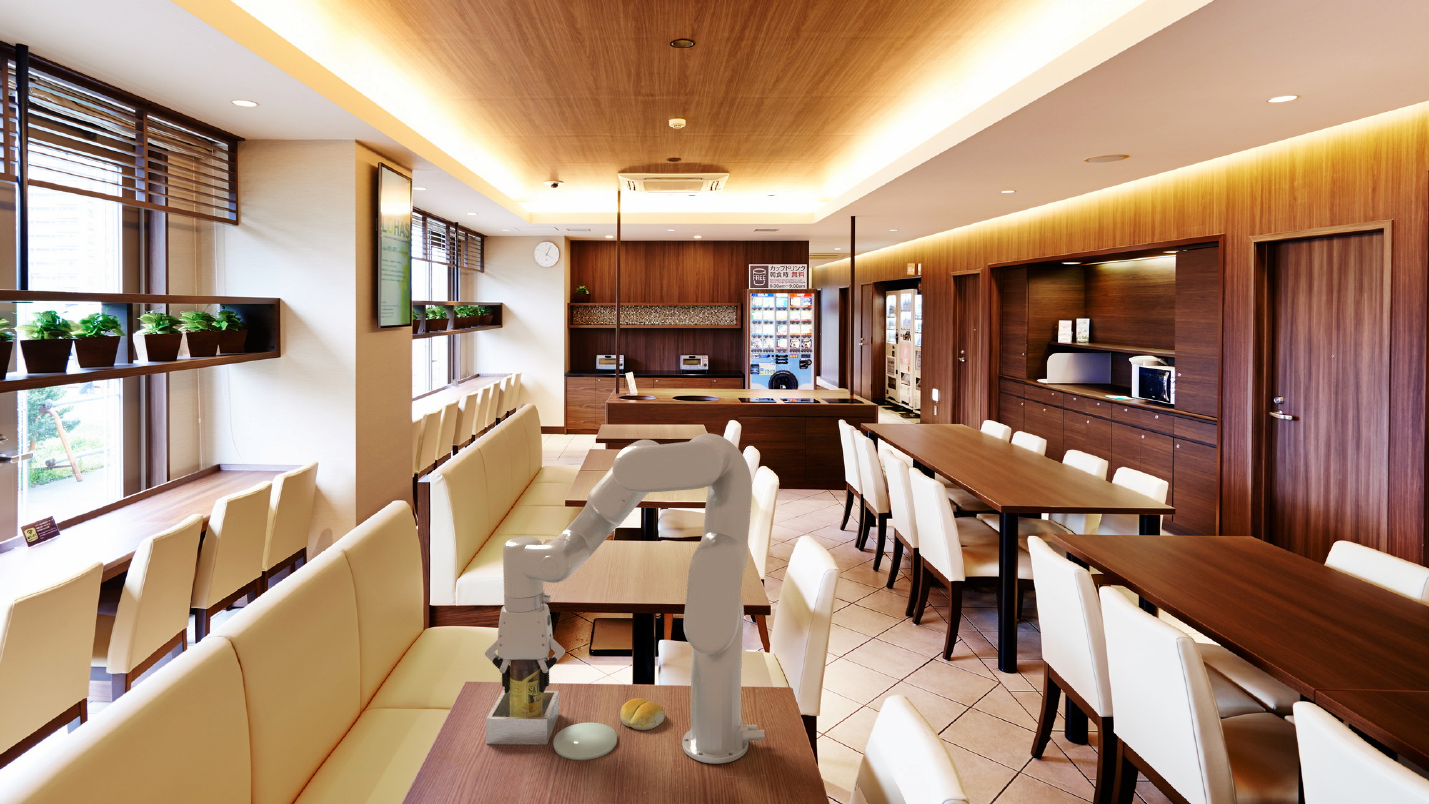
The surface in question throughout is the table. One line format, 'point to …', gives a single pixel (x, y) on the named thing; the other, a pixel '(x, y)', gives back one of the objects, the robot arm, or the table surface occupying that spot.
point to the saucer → (585, 741)
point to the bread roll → (641, 714)
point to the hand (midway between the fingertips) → (526, 688)
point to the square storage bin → (521, 722)
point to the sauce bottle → (525, 689)
